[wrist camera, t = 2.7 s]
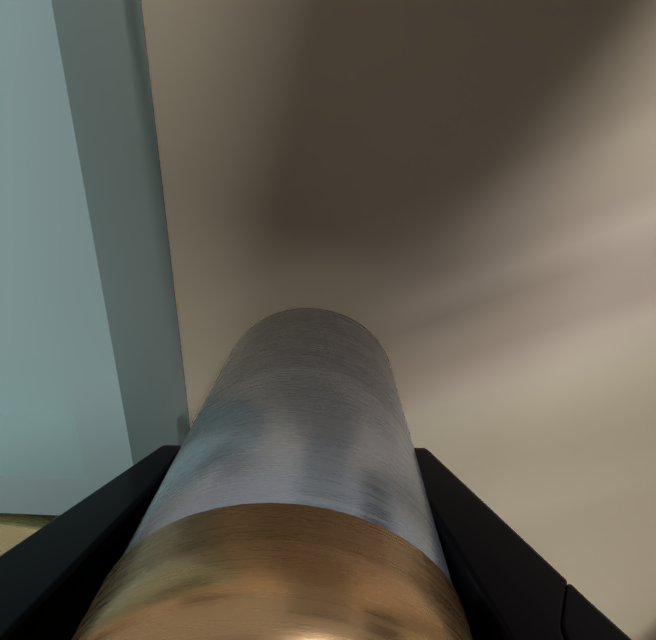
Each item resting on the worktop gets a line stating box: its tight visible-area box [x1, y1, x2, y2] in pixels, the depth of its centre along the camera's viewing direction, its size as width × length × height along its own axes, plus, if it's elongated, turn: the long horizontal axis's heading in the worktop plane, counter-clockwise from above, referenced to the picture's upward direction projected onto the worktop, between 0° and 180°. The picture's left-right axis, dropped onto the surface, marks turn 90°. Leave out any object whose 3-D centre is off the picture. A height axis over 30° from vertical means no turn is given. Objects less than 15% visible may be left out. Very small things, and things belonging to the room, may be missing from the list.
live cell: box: [71, 308, 473, 640], centre depth 7 cm, size 4×4×9 cm
